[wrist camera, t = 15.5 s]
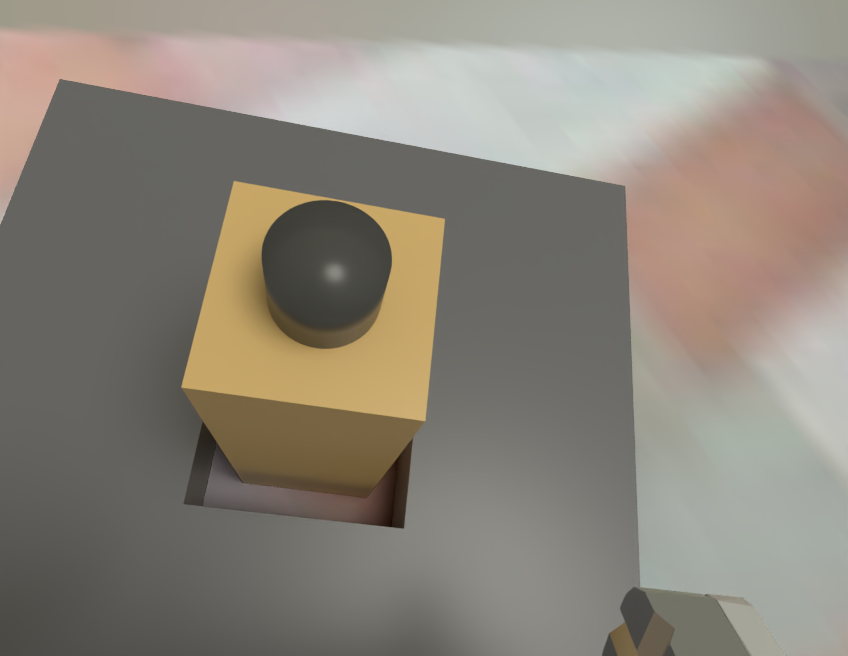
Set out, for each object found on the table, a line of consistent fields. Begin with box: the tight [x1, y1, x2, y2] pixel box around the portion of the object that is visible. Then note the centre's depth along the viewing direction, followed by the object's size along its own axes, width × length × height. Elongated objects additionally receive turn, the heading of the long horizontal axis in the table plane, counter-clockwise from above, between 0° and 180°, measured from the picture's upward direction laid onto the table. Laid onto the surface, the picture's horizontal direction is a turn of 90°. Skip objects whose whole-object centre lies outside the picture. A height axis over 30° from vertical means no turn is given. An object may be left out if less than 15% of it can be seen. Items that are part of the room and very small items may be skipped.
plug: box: [181, 181, 445, 498], centre depth 15 cm, size 4×4×12 cm
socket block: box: [0, 79, 640, 656], centre depth 20 cm, size 20×20×3 cm
